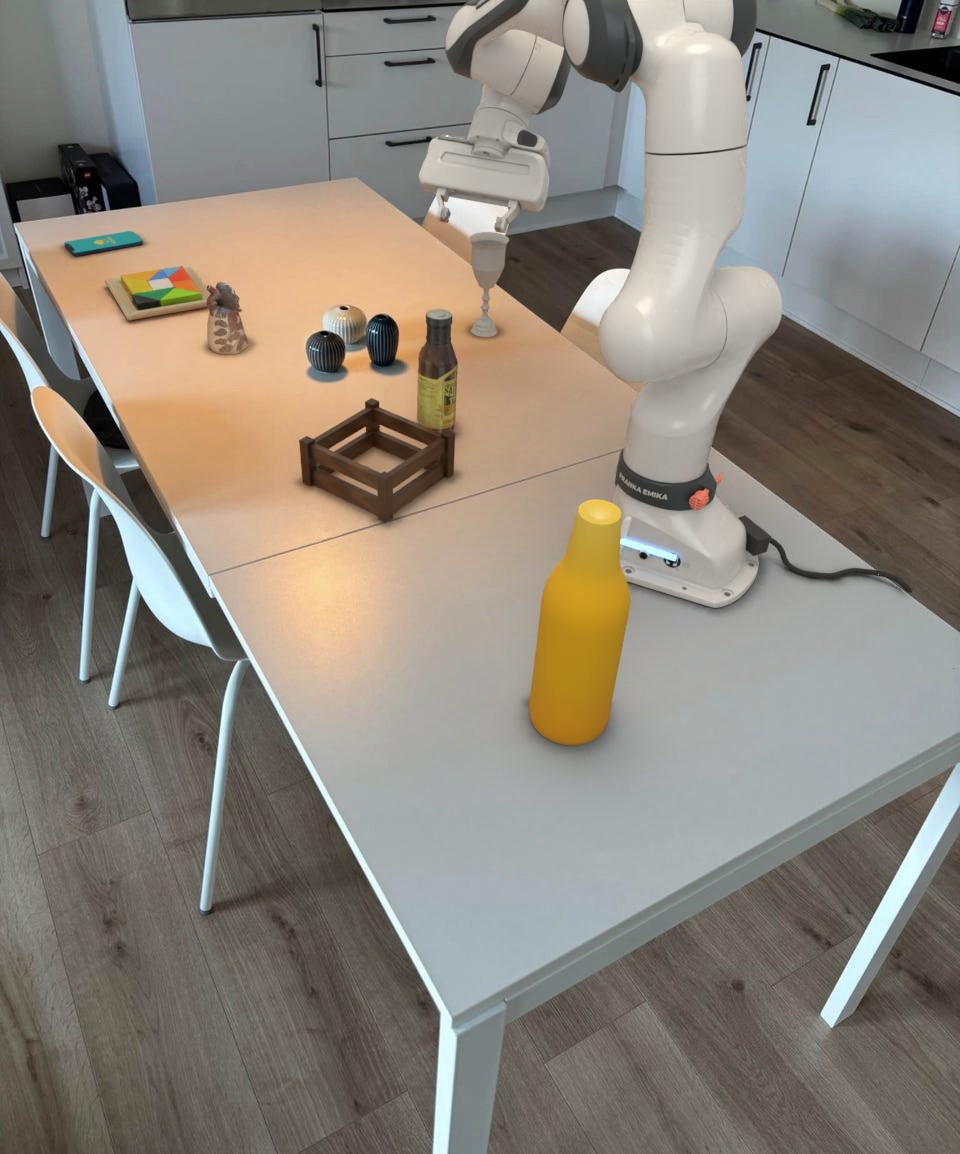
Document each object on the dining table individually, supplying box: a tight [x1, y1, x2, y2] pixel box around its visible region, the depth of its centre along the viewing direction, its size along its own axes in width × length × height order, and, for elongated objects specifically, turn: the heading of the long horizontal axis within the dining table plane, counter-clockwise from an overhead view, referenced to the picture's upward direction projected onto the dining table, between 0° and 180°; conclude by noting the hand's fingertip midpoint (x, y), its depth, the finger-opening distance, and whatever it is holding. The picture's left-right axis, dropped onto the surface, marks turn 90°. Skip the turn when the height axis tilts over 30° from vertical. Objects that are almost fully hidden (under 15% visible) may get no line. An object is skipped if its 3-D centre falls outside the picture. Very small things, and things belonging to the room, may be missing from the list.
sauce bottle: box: [416, 308, 459, 433], centre depth 153 cm, size 6×6×20 cm
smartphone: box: [64, 230, 144, 257], centre depth 212 cm, size 7×1×15 cm
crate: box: [298, 397, 456, 524], centre depth 145 cm, size 16×16×7 cm
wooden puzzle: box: [104, 265, 217, 321], centre depth 192 cm, size 18×19×4 cm
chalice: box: [469, 231, 510, 338], centre depth 183 cm, size 7×7×18 cm
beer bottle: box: [528, 498, 631, 746], centre depth 102 cm, size 9×9×29 cm
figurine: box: [205, 281, 250, 355], centre depth 175 cm, size 7×7×12 cm
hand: (470, 225), depth 150 cm, fingers open, 8 cm apart
